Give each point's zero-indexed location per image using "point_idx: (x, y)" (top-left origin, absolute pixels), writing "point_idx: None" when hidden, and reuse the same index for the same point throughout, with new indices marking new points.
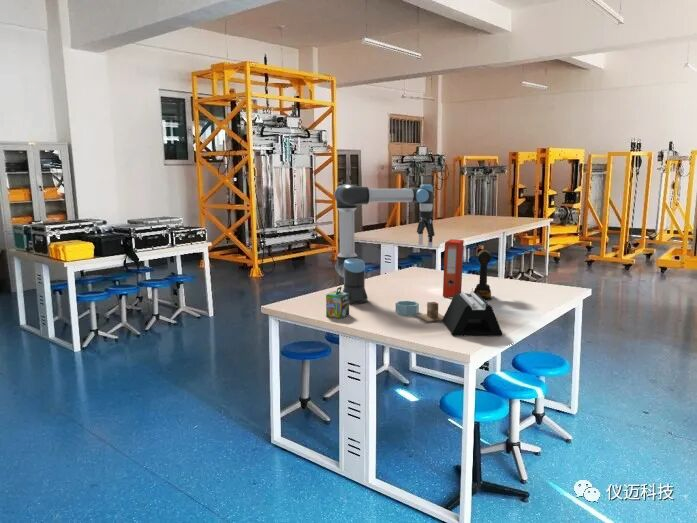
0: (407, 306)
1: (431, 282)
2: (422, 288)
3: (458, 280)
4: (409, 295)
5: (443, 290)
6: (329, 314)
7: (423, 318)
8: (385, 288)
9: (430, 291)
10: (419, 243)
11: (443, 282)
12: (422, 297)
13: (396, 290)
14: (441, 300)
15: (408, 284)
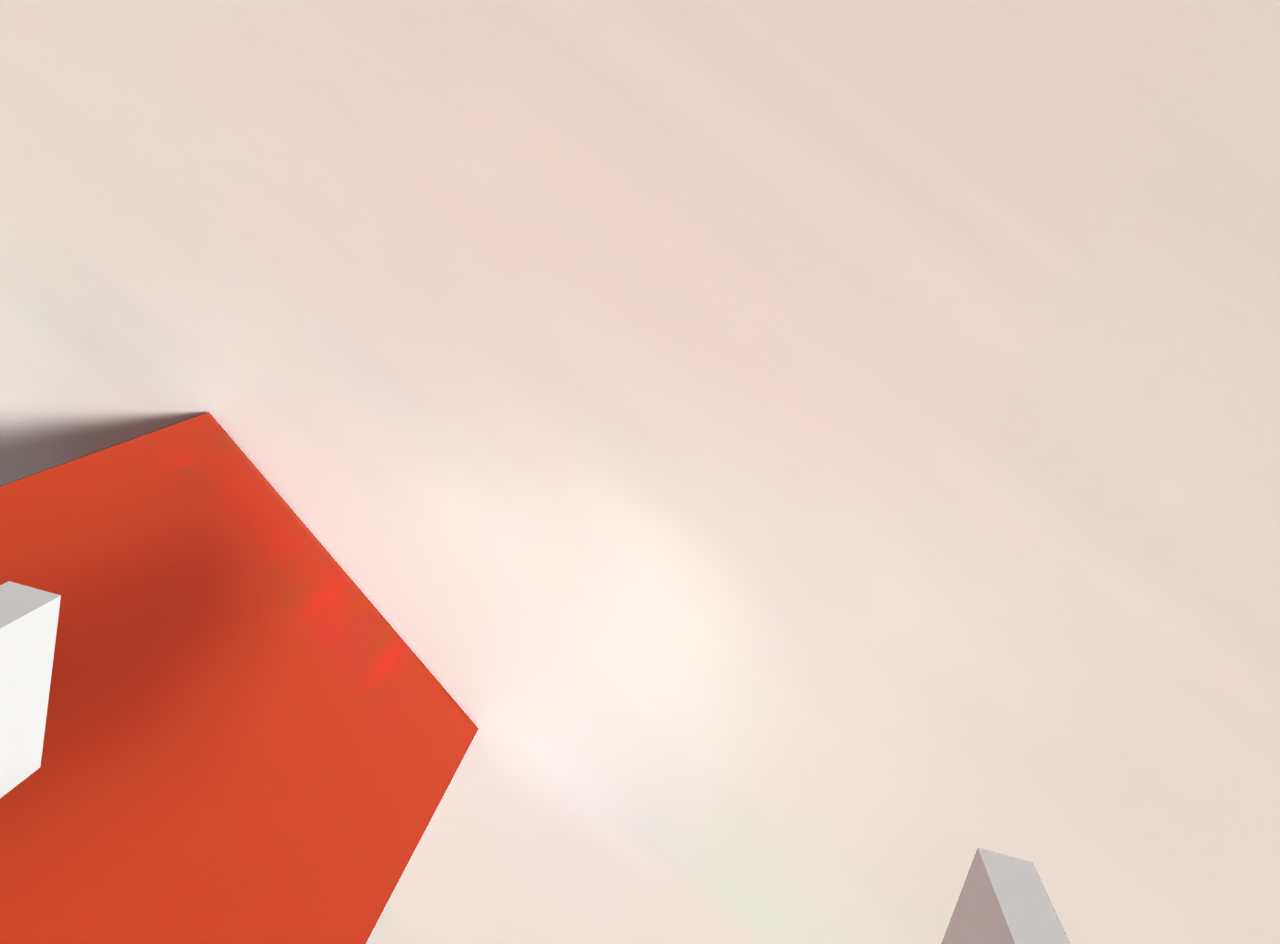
0: None
1: (1105, 937)
2: (832, 546)
3: None
4: (524, 40)
5: (154, 434)
6: None
7: None
8: (1193, 3)
9: (597, 509)
10: (980, 920)
11: (80, 459)
12: (318, 136)
13: (945, 81)
14: (49, 256)
15: (1209, 556)
